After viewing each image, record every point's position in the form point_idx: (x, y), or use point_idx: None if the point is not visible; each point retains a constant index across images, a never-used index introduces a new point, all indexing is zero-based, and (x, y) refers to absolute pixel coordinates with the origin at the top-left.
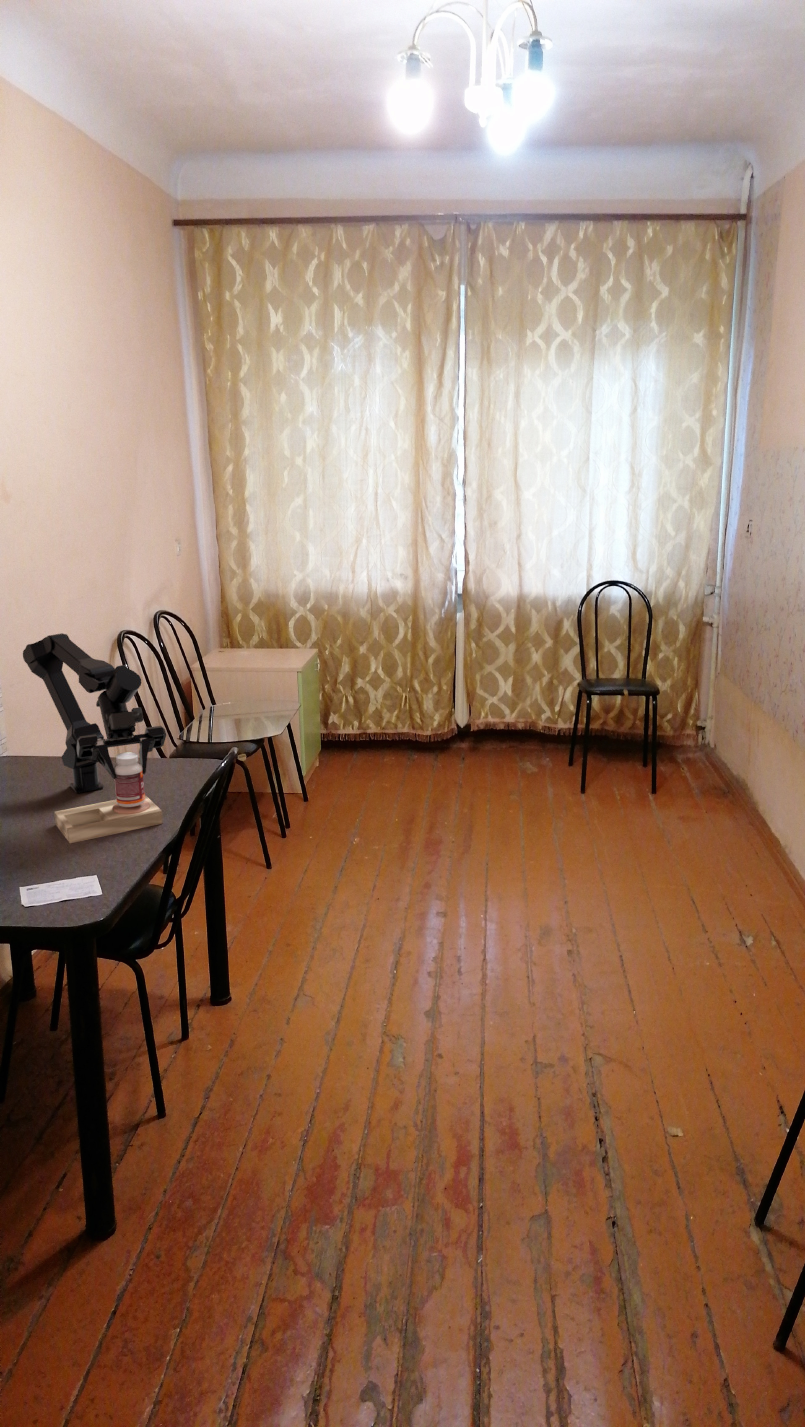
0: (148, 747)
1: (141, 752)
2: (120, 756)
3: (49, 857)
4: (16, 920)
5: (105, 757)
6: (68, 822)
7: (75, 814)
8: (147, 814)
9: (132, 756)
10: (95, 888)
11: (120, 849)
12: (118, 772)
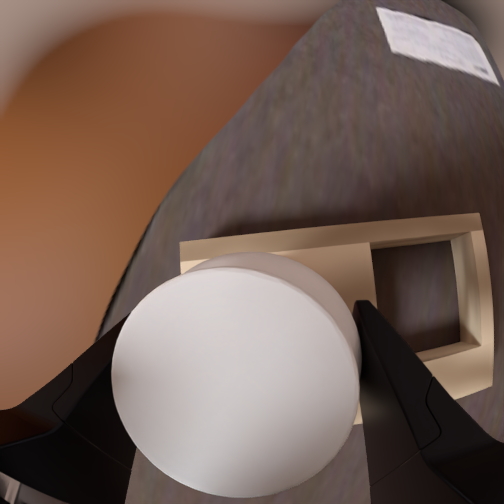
0: (12, 411)
1: (81, 426)
2: (304, 403)
3: (488, 167)
4: (469, 19)
5: (454, 421)
6: (479, 275)
7: (450, 353)
8: (231, 237)
9: (170, 335)
10: (388, 21)
11: (343, 126)
12: (340, 297)
